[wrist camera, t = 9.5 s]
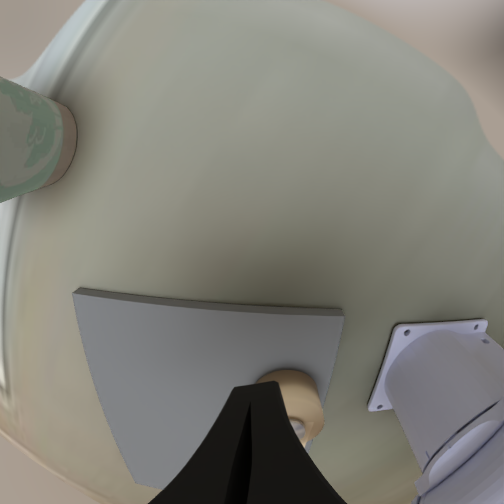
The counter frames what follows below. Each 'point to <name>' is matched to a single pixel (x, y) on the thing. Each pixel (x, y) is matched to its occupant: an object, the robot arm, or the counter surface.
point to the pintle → (298, 427)
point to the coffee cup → (32, 140)
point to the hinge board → (190, 366)
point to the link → (299, 400)
